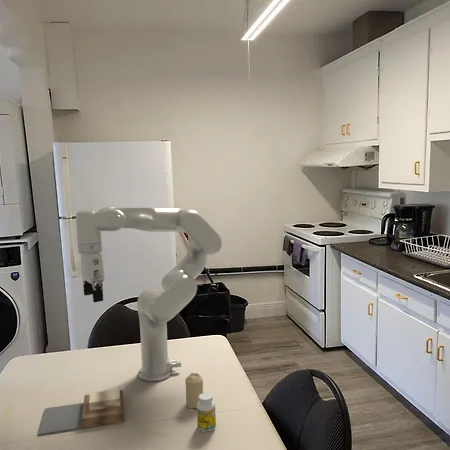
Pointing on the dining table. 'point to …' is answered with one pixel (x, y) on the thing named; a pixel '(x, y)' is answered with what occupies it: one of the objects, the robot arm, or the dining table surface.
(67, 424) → the mat
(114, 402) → the tile
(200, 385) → the candle
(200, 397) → the supplement bottle
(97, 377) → the dining table surface
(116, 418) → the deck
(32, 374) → the dining table surface
